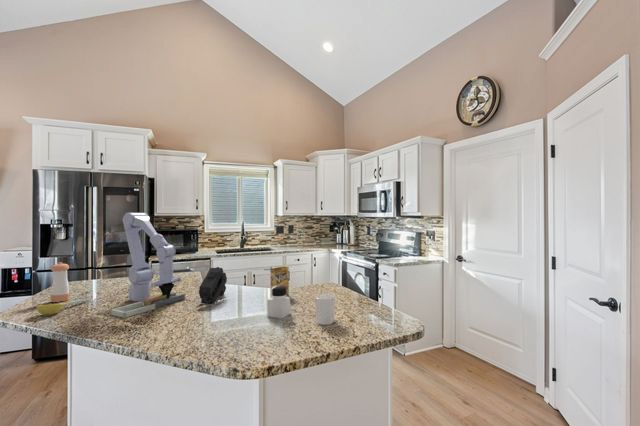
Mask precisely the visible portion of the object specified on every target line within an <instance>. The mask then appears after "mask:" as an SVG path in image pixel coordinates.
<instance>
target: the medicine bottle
mask: <svg viewBox="0 0 640 426" xmlns="http://www.w3.org/2000/svg"><path fill="white" fill-rule="evenodd" d="M266 302H267V303H266V308H267V310H266V314H267V317H268V318H274V319H280V320H281V319H283V318H286V317H287V316H289V315H291V297H290V296H286V288H285V287H284V286H275V287H273V288H272V297H269V298H268V299H267V300H266Z"/></svg>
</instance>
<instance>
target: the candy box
mask: <svg viewBox="0 0 640 426" xmlns="http://www.w3.org/2000/svg"><path fill="white" fill-rule="evenodd" d="M269 272H270V274H269V275H270V298H272V288H273V287H275V286H284V287H285V288H286V297H289V295H290V294H289V293H290V292H289V291H290V280H289V279H290V278H289V275H290V274H289V273H290V272H289V266H288V265H279V266H271V267H270V271H269Z"/></svg>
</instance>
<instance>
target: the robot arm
mask: <svg viewBox="0 0 640 426" xmlns="http://www.w3.org/2000/svg"><path fill="white" fill-rule="evenodd" d="M150 218H151V217H150V216H149V215H148V213H146V212H130V211H129V212H126V213H125V214H124V215H123V217H122V224H123V229H124V231H125V236H126V241H127V245H128V249H129V254H130V258H131V262H132V265H131V267H129V269H128V281H129V283H130V285H129V287H128V301H133V302H143V300H145V298H147V297H150V295H151V294H150V293H151V288H152V289H153V288H157V287H158V288H159V290H160V293H161V294H165V295H167V298H169V296H170V293H172V290H173V289H174V287H175V283H177V282H181V281H182V280H181V277H180V276H179V277H178V276H176V277H174V256H175V255H176V252H177V251H176V250H177V249H176V248H175V246H174V245H173V244H171V243H168V242H167V240H166V239H165V238H164V235H163V234H160V233H158V232H157V231H156V229H155V228H154V226H153V224H152V223H151V221H150V220H151V219H150ZM141 230H143V231H144V232H145V233H146V234H147V236H148V237H149V243H151V244H152V246H153V248H154V249H155V250H156V256H157V258H158V262H159V280H157V281H154V282H153V281H152V280H153V279H154V276H155V272H154V271H153V269H152V267H151V265H150V264H149V263H148V262H146V260H145V256H144V255H145V254H144V250H143V246H142V243H141V242H142V241H141V238H140V234H139V232H140V231H141Z"/></svg>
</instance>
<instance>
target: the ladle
mask: <svg viewBox="0 0 640 426" xmlns="http://www.w3.org/2000/svg"><path fill="white" fill-rule="evenodd" d="M90 300H91V299H78V300H77V299H76V300H72V301H66V302H62V303H53V304H52V303H51V304H37V305H36V311H37V312H38V313H39V314H40V315H42V316H46V315H49V316H53V315H52V314H54V315H56V314H58V313H59V312H60V311H61V310H62V309H63V307H64V305H68V304H73V303H76V302H90Z"/></svg>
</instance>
